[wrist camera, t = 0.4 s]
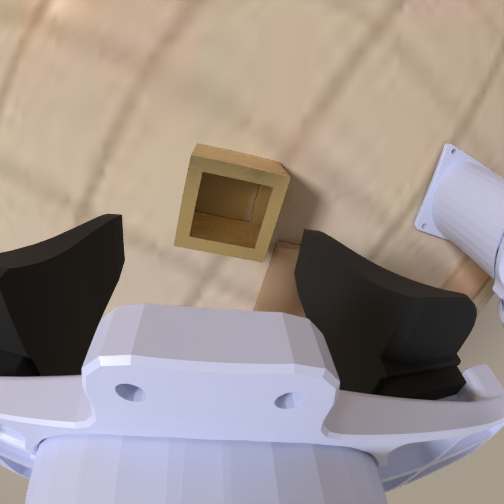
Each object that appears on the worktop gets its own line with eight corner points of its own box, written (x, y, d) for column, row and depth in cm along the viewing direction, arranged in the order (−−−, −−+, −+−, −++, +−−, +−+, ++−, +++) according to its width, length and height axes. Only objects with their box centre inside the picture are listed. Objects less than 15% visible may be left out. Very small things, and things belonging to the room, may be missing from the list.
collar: (278, 161, 20) (290, 177, 17) (256, 234, 23) (263, 262, 19) (196, 143, 19) (191, 154, 16) (181, 219, 22) (174, 245, 18)
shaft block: (365, 259, 25) (388, 290, 21) (330, 329, 28) (343, 363, 24) (277, 241, 23) (289, 274, 19) (250, 319, 27) (255, 357, 23)
